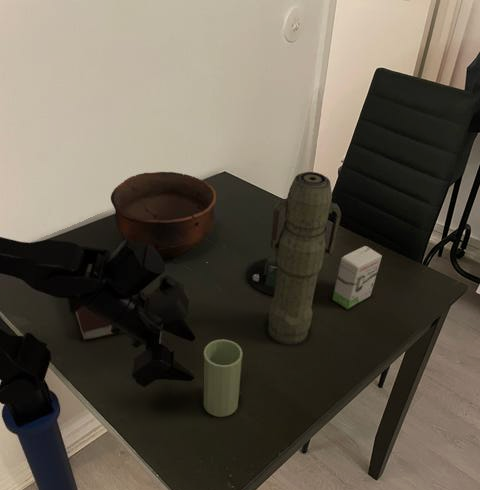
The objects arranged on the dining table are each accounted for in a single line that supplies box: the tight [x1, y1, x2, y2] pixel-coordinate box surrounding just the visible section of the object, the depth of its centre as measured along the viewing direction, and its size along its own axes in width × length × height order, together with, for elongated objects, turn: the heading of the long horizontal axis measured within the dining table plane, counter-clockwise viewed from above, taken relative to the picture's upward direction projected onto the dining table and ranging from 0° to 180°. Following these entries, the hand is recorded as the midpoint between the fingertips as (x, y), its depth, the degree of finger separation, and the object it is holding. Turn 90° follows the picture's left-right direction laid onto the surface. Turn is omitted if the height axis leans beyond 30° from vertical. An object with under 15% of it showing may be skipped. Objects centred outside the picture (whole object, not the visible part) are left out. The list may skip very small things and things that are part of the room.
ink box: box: [332, 245, 383, 310], centre depth 114 cm, size 9×5×12 cm, turn 130°
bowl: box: [110, 171, 218, 260], centre depth 124 cm, size 25×25×15 cm
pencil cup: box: [202, 339, 244, 418], centre depth 88 cm, size 6×6×13 cm
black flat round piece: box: [247, 253, 278, 297], centre depth 121 cm, size 15×15×6 cm
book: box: [75, 271, 122, 342], centre depth 110 cm, size 12×19×3 cm, turn 23°
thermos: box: [267, 171, 342, 345], centre depth 97 cm, size 9×12×35 cm
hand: (193, 358), depth 84 cm, fingers open, 9 cm apart
